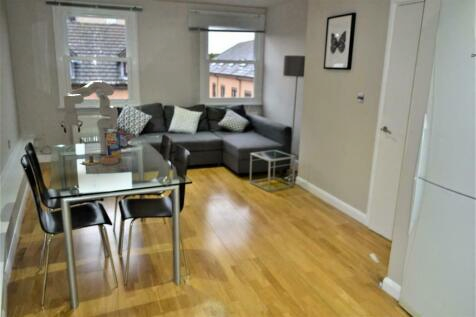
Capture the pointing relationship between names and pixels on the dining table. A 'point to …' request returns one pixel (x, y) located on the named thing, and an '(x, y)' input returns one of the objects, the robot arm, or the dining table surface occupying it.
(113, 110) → the robot arm
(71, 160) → the dining table surface
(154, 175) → the dining table surface
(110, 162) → the bowl
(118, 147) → the blue food box
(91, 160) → the lid
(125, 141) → the colourful crumpled piece
